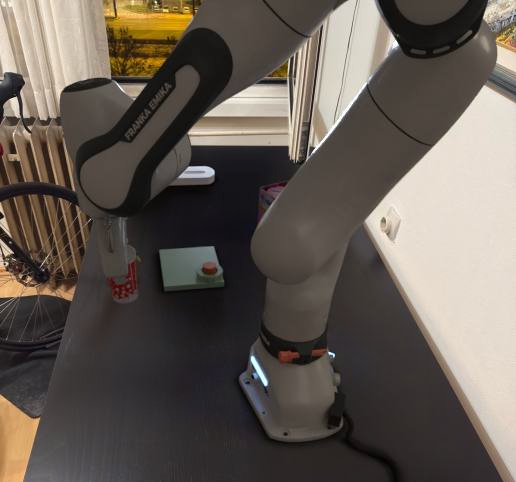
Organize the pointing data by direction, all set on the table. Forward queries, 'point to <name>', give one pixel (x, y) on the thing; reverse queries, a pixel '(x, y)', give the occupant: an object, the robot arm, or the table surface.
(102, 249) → the robot arm
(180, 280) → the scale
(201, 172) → the bracket
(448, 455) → the table surface
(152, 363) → the table surface
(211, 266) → the tare button
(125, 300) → the beverage cup
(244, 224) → the table surface
